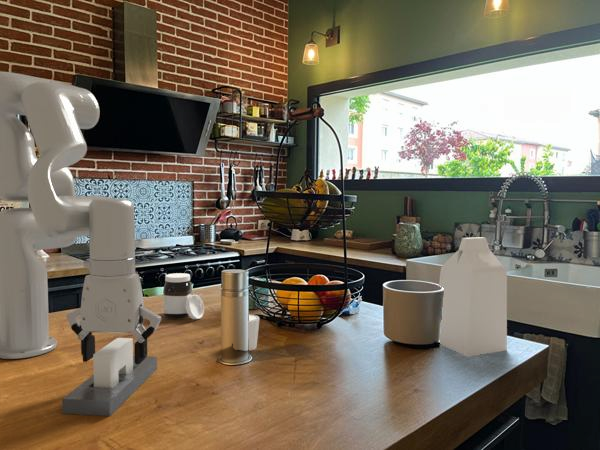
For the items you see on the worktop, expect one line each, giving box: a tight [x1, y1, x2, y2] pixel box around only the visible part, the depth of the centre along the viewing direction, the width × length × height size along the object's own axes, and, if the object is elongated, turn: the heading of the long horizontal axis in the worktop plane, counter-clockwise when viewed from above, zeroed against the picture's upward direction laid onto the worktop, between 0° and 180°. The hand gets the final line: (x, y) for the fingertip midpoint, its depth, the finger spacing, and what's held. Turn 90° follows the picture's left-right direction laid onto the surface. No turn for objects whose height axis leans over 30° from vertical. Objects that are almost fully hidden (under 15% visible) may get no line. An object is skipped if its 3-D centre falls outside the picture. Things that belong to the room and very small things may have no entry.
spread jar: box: [162, 272, 205, 321], centre depth 134 cm, size 12×11×12 cm
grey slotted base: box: [61, 355, 158, 417], centre depth 87 cm, size 8×20×2 cm, turn 175°
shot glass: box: [248, 313, 260, 352], centre depth 110 cm, size 7×7×7 cm
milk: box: [438, 236, 508, 358], centre depth 113 cm, size 12×12×26 cm
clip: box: [92, 337, 134, 388], centre depth 87 cm, size 3×9×8 cm, turn 175°
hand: (114, 360), depth 86 cm, fingers open, 9 cm apart
